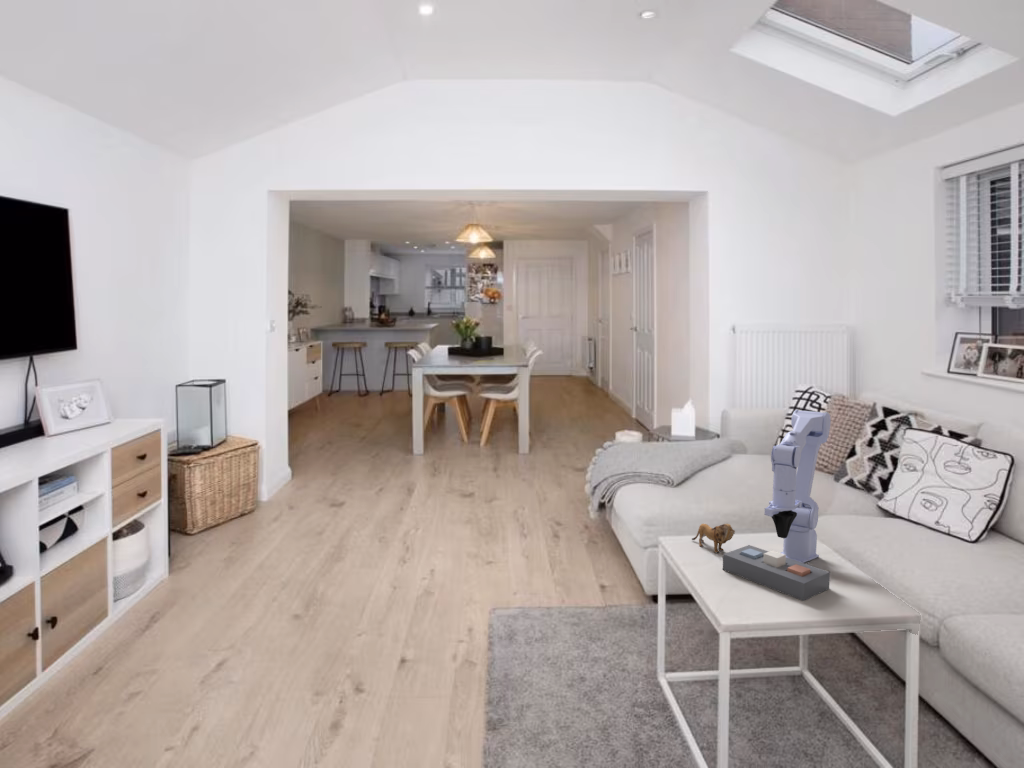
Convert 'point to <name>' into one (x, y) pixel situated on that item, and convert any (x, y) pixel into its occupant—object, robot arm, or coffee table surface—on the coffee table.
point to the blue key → (751, 553)
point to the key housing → (777, 574)
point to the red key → (798, 570)
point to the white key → (774, 559)
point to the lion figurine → (715, 534)
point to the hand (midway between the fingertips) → (782, 537)
